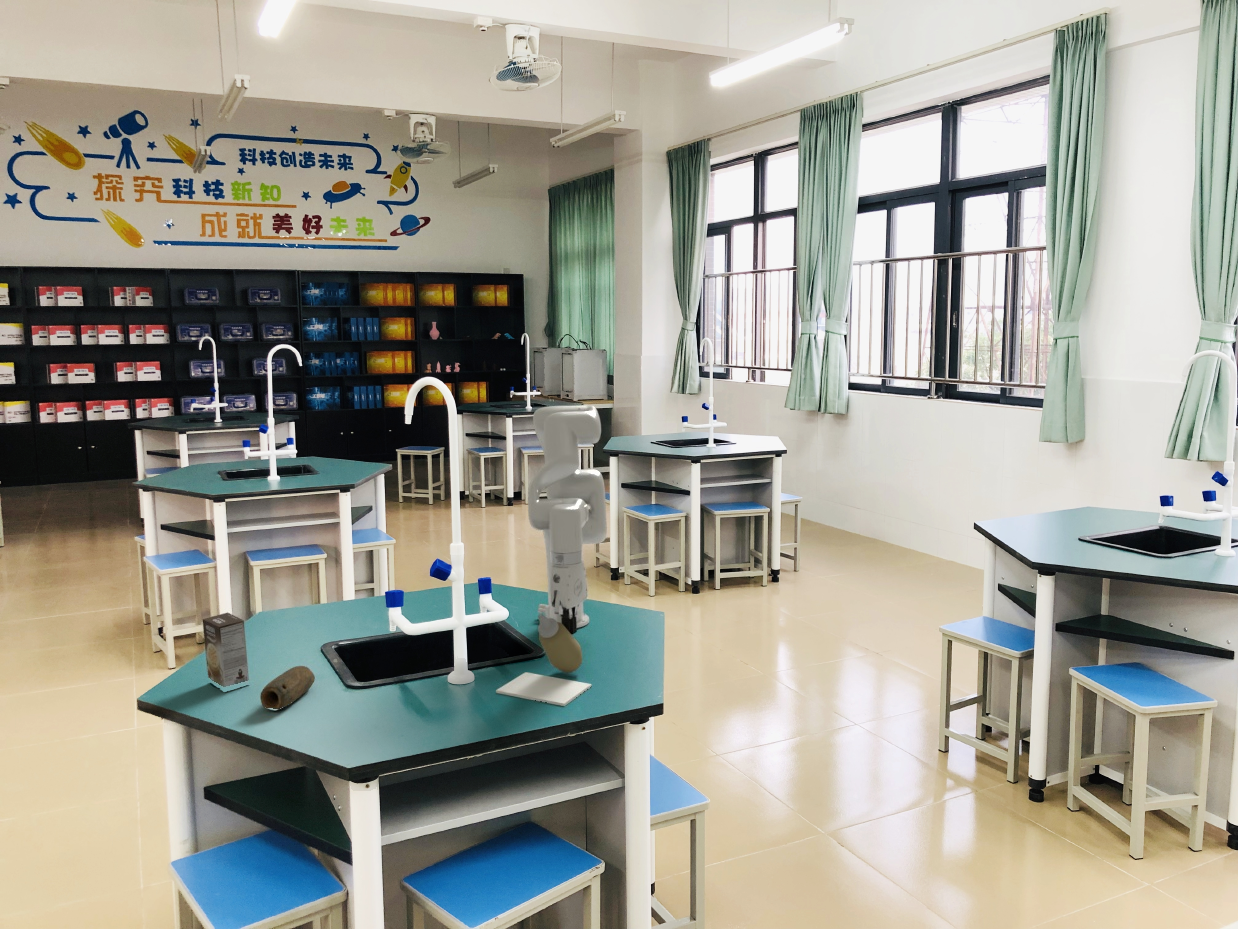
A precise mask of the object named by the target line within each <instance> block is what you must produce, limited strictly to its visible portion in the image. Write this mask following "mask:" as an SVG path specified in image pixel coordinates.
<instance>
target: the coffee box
mask: <svg viewBox="0 0 1238 929" xmlns="http://www.w3.org/2000/svg"><path fill="white" fill-rule="evenodd" d="M201 620H202V628H203V629H202V630H203V638H204V639H203V640H204V647H205V648H204V650H205V658H206V659H205V661H206V670H207V678H210V679H211V680H212V681H214V682H216V683H218V684H219V685H221V686H223V687H226V686H230V685H234V684H238V683H241V682H245V681H248V680H249V681H250V676H249V666H248V664H249V663H248V652H247V641H246V629H245V627H246V626H245V620H244V619H242V618H239V617H238V616H236V615H234V614H232V613H230V612H225V613H221V614H217V615H213V616H209V617H205V618H203V619H201Z"/></svg>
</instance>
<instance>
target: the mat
mask: <svg viewBox="0 0 1238 929" xmlns="http://www.w3.org/2000/svg"><path fill="white" fill-rule="evenodd" d="M591 686H593V684H591V683H587V682H582V681H581V682H580V681H577V680H570V679H565V678H559V677H553V676H548V675H543V674H538V673H532V672H526V671H525V672H524V673H522V674H520V675H519V676H517V677H515V678H514V679H512V680H511V681H509V682H507V683H505V684H504V685H503V686H501V687H499V688H497V689H496V690H495V693H496V694H500V695H506V696H511V697H516V698H521V699H526V700H531V701H535V700H536V701H535V702H540V701H542V702H541V703H545V702H547V703H546V704H550V705H557V706H562V707H566V706H567V705H568V704H569V703H571V702H573V701H574V700H575V699H576V697H577V698H578V697H579V696H581V695H582V694H584V693H585V692H586V691H588V690H589V689H590V687H591ZM591 688H592V687H591ZM587 689H588V690H587ZM584 691H585V692H584ZM583 692H584V693H583ZM580 694H581V695H580Z"/></svg>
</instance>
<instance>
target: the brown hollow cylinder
mask: <svg viewBox="0 0 1238 929" xmlns="http://www.w3.org/2000/svg"><path fill="white" fill-rule="evenodd" d="M315 680H316V678H315V674H314V672H313V671H312V670H311V669H310V668H309V667H307V666H305V665H295V666H293V667H292V668H289V669H287V670H285V671H284V672H283V673H281V674H279V675H278V676H277V677H275V678H274V679H272V680H270V682H268V683H267V684H266V685H265V686H264V687H263V689H262V690H261V691H260V703H261V705H262V706H263V707H264V708H265V707H266V708H273V709H280V708H282V707H285V706H286V707H288V706H289V705H291V704H292V703H293V701H294V700H295V701H297V700H298V699H299V698H300V697H302V696H303V695H304V694H305V693H306V692H307V691H309V689H310V688H312V686H313V684H314V682H315ZM302 694H303V695H302ZM301 695H302V696H301ZM297 698H298V699H297ZM296 699H297V700H296ZM295 701H294V702H295ZM291 702H292V703H291ZM290 703H291V704H290ZM288 704H289V705H288ZM287 705H288V706H287ZM286 707H285V708H286ZM266 708H265V709H266Z"/></svg>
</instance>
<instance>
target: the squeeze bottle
mask: <svg viewBox="0 0 1238 929" xmlns="http://www.w3.org/2000/svg"><path fill="white" fill-rule="evenodd" d="M537 617H538V620H539V624H538V628H537V631H538V633H539V635H538V639H539V642H540V644H541V646H542V649H543V650H544V652H545V655H546V656H547V659H548V661H549V662H550V665H552V666H553V667H554V668H555V669H557V670H558V671H560V672H562V673H565V674H569V673H570V674H571V673H573V672H576V671H577V670H579V668H580V667H581V665H582V664H583V652H582V647H581V644H580V642H579V641H578V640H576V639H575V637H574V636H573V635H571V634H570V632H569V631H568V630H567V629H566V628H565V626H564V625H563V624H561V623H560V622H556V620H555V619H553V618H548V619H547V618H546V615H545V614H544V613H538V616H537Z"/></svg>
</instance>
